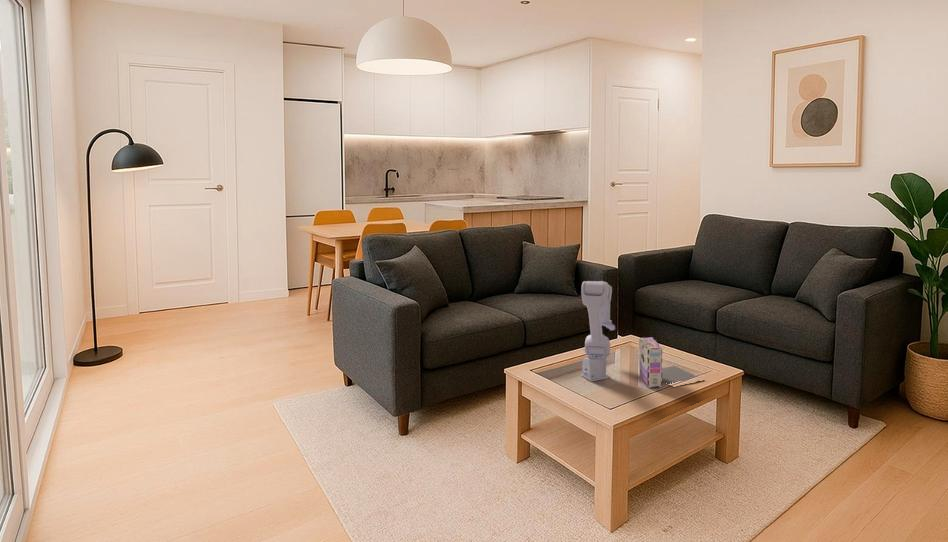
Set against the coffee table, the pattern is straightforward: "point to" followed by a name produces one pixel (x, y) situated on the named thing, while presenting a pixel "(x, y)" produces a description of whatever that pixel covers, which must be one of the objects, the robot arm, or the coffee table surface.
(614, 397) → the coffee table surface
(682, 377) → the mat
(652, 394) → the coffee table surface
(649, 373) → the candy box
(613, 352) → the coffee table surface
